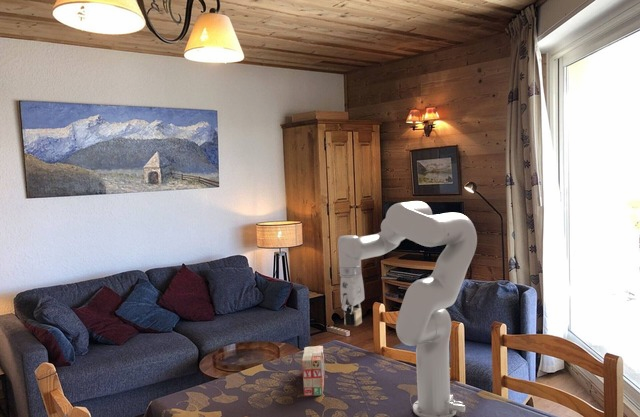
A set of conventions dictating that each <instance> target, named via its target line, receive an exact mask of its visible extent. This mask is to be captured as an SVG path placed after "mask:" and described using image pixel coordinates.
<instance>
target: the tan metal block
mask: <svg viewBox="0 0 640 417" xmlns="http://www.w3.org/2000/svg"><path fill="white" fill-rule="evenodd" d="M348 308H349V309H350V307H348ZM353 314H354V322H355V325H354V326H353V327H358V326H359V325H361V324H362V323H363V319H362V318H363V317H362V316H363V315H362V307H361V308H353ZM343 319H344V326H347V325H346V322H345V314H344V313H343ZM349 326H351V325H349ZM351 327H352V326H351Z"/></svg>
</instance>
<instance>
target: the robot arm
mask: <svg viewBox="0 0 640 417" xmlns="http://www.w3.org/2000/svg"><path fill="white" fill-rule="evenodd" d="M380 230H381V231H379V232H377V233H374V234H368V235H362V236H358V235H354V234H348V235H346V234H345V235H340V236H339V237H338V238H337V239H338V240H337V249H338V261H339V262H338V263H339V277H340V287H339V288H340V289H339V290H340V302H341V309H342V310H343V315H344V314H345V321H344V323H345V322H346V325H345V326H350V325H351V327H355V326H354V325H355V322H354V314H353V308H361V309H362V306H361V304H362V302H363V301H365V299H366V298H365V287H364V279H363V275H362V272H363V271H362V260H366V259H370V258H375V257H381V256H383V255H385V254H387V253H390V252H391V251H392V250H395V249H396V248H397V247H399V246H400V244H401V242H403V241H404V240H406V239H407V240H409V241H412V242H414V243H415V244H419V245H421V246H424V247H426V248H428V247H429V248H433V247H437V246H444V245H446V246H445V248H444V249H443V250H442V252H441V253H440V255H439V256H438V258H437V260H436V263H435V266H434V268H433V271H432V273H431V275H429V276H427V277H423V278H421V279H418V280H416V281H414V282H412V283H411V284H410V285H409V287H408V288H407V289H406V292H405V293H404V294H405V295H404V297H403V300H402V304H401V306H400V308H399V312H398V315H397V318H396V322H395V331H396V335H397V337H398V339H399V340H400V342H401V343H402V344H404V345H406V346H410V347H415V346H416V349H415V356H416V357H415V359H416V360H415V361H416V386H417V400H416V401H415V402H414V403H413V404H412V411H413V413H414V414H415V415H417V417H454V416H455V415H456V414H457V412H460V413H461V412H462V413H465V412H466V405H464V401H460V400H456V399H454V394H451V378H450V377H451V376H450V374H451V372H450V338H451V337H450V336H451V332H452V318H451V315H450V313H449V311H448V310H447V308H449V307H452V306H453V305H454V304H455V303H456V300H457V299H458V295H459V293H460V290H461V288H462V285H463V283H464V280H465V277H466V275H467V272H468V268H469V267H470V264H471V262H472V261H473V260H472V259H473V257H474V256H475V253H476V249H477V244H478V235H477V231H476V227H475V226H474V223H473V222H472V220H471V219H470V218H469V217H468V216H466V215H464V214H463V213H460V212H444V213H440V214H439V213H438V214H433V211H432V209H431V207H430V206H429V205H428V204H427V203H426V202H424V201H420V200H412V201H411V200H410V201H403V202H397V203H394V204H393V205H391V206H390V207H389V208H388V209H387V212H386V214H385V218H384V219H382V222H381V224H380ZM349 308H350V309H349Z"/></svg>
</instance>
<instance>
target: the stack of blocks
mask: <svg viewBox="0 0 640 417" xmlns="http://www.w3.org/2000/svg"><path fill="white" fill-rule="evenodd" d="M303 349H304V350H303V355H302V359H301V362H302V363H301V364H302V365H301V367H302V379H303V397H318V396H319V397H320V396H323V393H324V386H325V385H324V384H325V357H324V346H323V345H317V346H316V345H315V346H306V347H303Z"/></svg>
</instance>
